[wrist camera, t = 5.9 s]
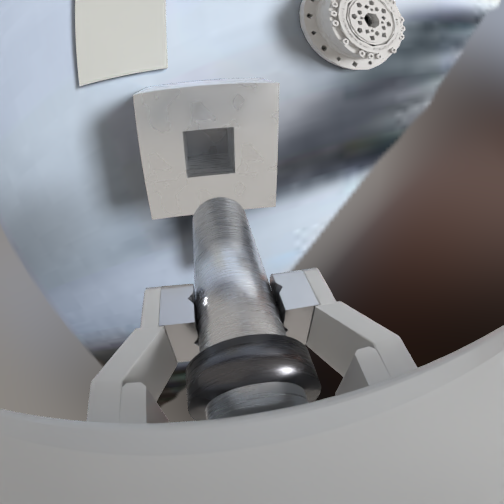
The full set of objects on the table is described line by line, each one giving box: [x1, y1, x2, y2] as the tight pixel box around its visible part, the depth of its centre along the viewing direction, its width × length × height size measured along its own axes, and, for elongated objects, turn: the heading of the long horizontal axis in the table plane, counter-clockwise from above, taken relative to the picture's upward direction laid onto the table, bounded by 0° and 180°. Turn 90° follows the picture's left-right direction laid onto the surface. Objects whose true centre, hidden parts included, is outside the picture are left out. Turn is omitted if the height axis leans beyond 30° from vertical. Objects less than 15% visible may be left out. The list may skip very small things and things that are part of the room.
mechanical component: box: [299, 0, 405, 70], centre depth 18 cm, size 10×4×10 cm
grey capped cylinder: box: [186, 197, 321, 421], centre depth 9 cm, size 3×3×9 cm
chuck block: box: [133, 78, 279, 220], centre depth 25 cm, size 19×10×6 cm, turn 0°
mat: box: [75, 0, 168, 86], centre depth 16 cm, size 11×8×1 cm
